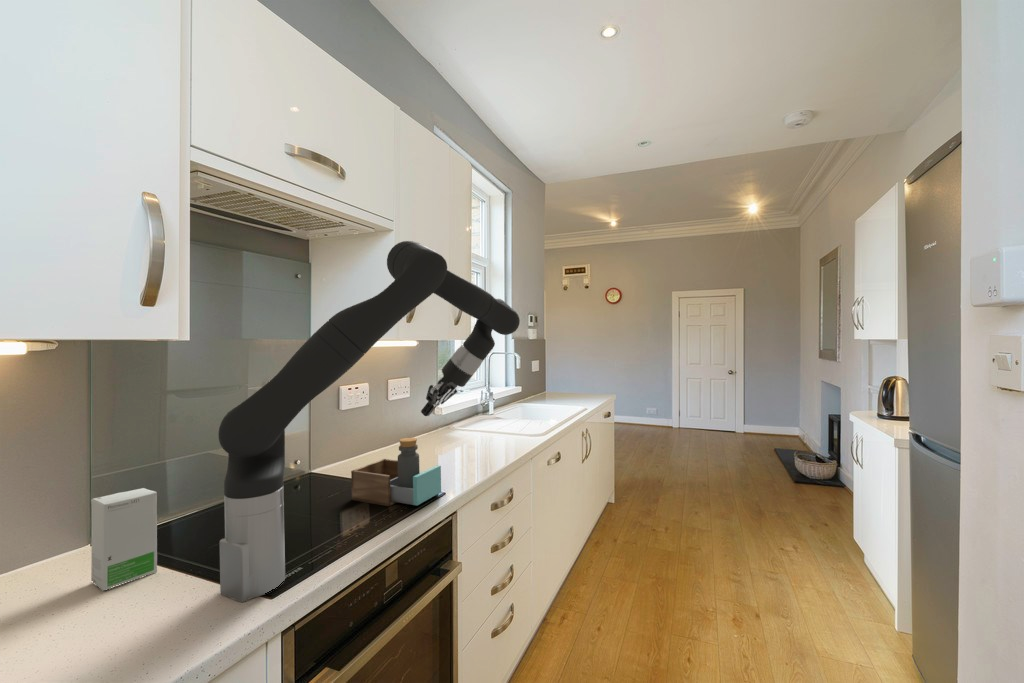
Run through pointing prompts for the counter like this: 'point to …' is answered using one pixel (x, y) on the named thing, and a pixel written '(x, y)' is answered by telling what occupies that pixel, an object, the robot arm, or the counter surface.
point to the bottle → (407, 462)
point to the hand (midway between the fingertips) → (424, 414)
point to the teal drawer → (418, 487)
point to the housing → (374, 482)
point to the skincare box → (123, 537)
